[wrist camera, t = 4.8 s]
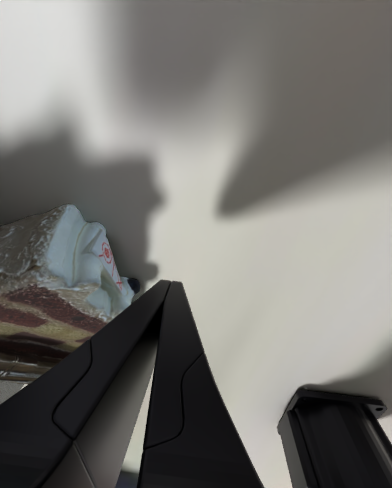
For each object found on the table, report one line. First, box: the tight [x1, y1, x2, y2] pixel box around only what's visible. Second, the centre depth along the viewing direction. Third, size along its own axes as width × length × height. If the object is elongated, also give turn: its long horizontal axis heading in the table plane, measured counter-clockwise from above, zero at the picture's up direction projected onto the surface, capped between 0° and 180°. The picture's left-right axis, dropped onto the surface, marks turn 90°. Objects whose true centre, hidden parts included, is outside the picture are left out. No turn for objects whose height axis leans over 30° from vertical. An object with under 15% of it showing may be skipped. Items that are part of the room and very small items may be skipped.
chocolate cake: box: [0, 204, 140, 384], centre depth 11 cm, size 10×7×12 cm
